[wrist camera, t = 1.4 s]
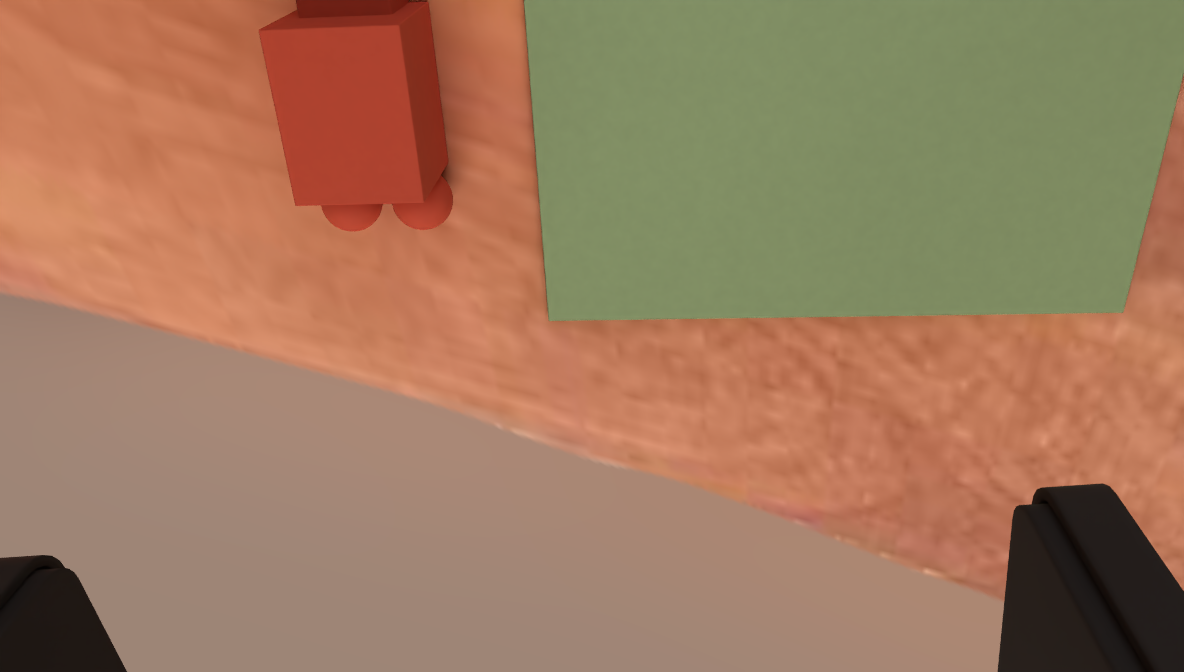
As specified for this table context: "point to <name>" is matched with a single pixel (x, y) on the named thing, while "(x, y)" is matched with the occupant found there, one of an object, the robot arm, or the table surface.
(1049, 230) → the green cloth
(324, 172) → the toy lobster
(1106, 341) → the table surface
